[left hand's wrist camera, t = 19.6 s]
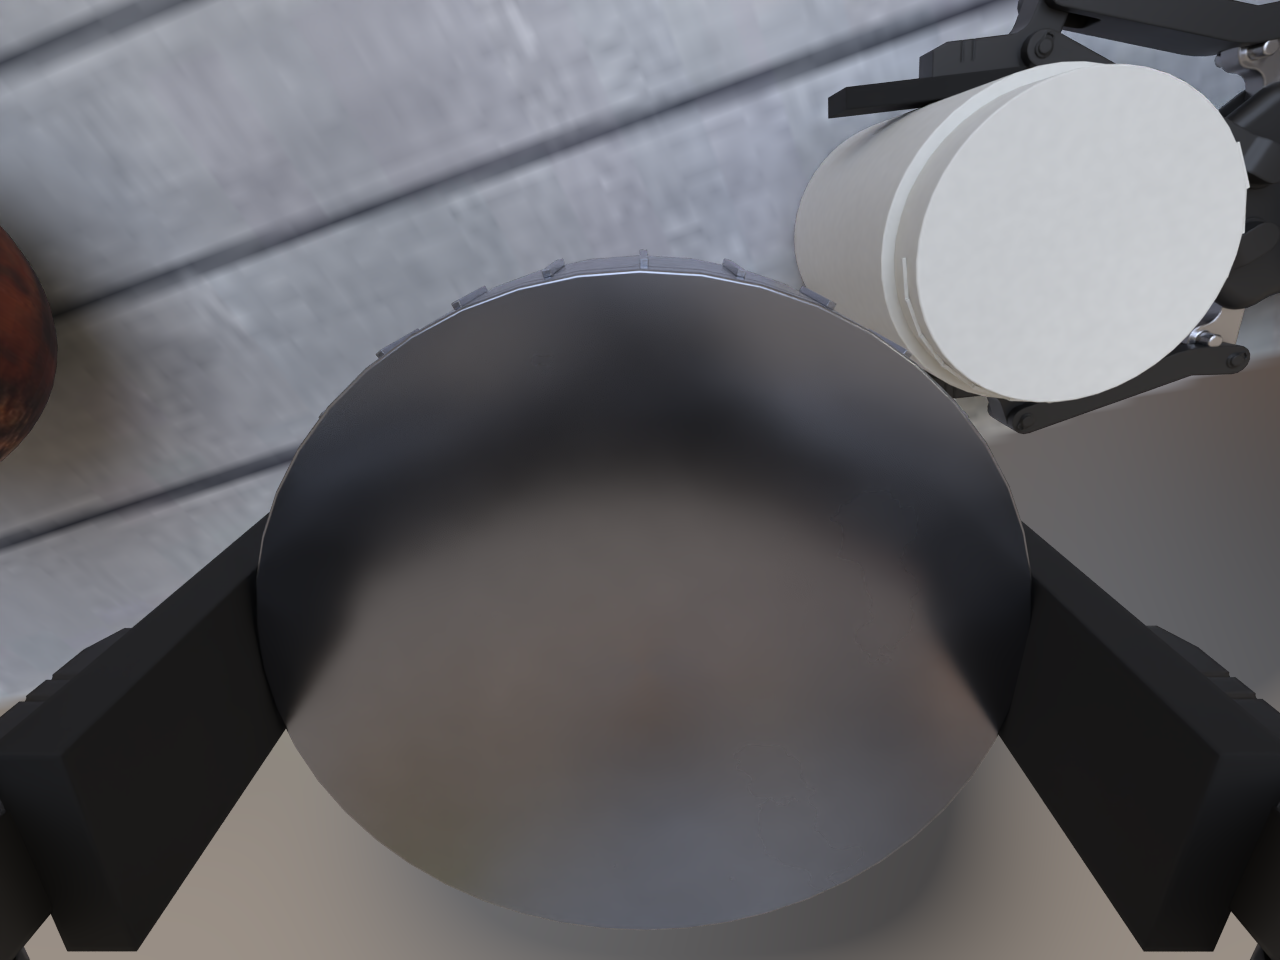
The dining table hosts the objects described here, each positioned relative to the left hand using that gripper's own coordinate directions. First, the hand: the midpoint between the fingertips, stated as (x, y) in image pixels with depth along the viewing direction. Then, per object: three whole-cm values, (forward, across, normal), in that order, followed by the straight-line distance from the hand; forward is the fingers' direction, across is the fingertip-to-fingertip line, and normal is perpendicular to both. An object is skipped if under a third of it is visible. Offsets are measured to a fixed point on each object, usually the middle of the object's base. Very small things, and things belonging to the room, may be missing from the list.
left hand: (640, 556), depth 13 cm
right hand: (+19, +8, +4) cm, 21 cm away
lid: (-3, 0, 0) cm, 3 cm away
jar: (+25, +12, +5) cm, 28 cm away
